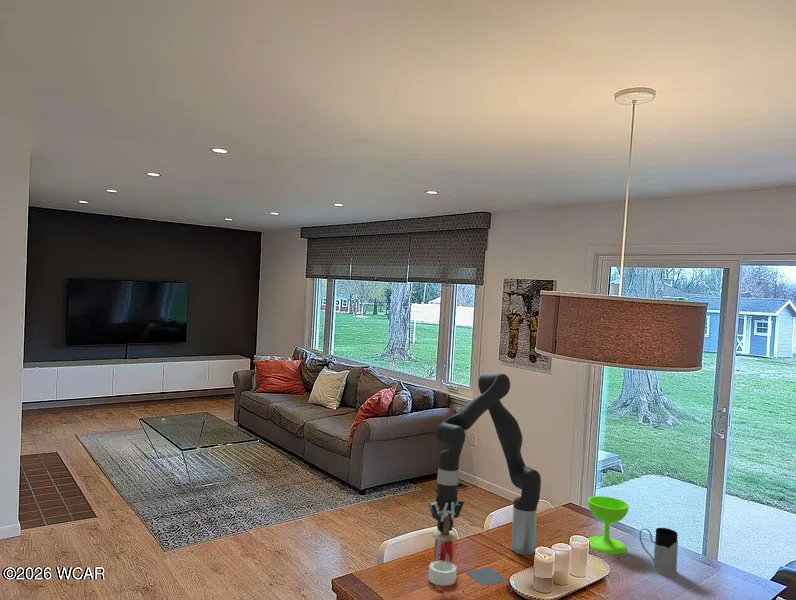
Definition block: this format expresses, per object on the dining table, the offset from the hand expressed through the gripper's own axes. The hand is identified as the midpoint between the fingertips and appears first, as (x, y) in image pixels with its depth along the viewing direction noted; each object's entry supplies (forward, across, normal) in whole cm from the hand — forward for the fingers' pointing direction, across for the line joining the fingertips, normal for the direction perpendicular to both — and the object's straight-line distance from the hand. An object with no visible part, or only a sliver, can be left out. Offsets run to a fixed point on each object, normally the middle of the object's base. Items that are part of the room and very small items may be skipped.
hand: (444, 530), depth 199 cm
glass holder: (+17, -83, +23) cm, 88 cm away
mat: (+17, -16, +4) cm, 24 cm away
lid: (+2, 0, 0) cm, 2 cm away
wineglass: (+17, -81, 0) cm, 83 cm away
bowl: (+18, 0, 0) cm, 18 cm away
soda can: (+18, -6, -9) cm, 21 cm away
